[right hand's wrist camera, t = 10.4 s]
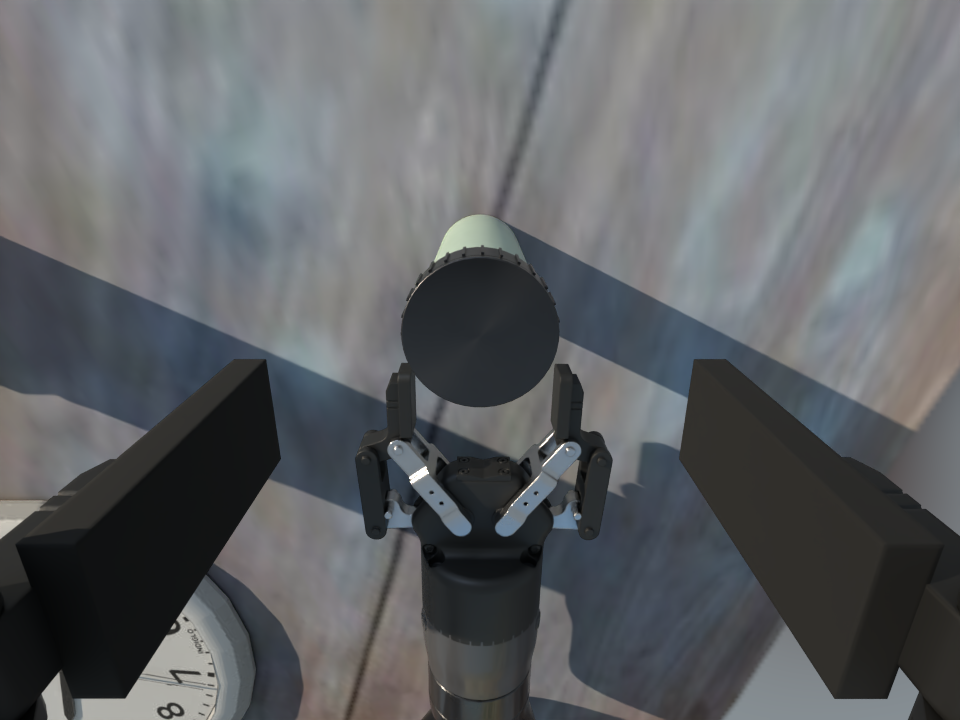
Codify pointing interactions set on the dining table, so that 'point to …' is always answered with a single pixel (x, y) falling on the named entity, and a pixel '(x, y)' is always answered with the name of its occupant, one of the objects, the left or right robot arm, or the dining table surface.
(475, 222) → the jar
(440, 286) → the lid
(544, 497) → the left robot arm
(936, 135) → the dining table surface
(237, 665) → the wall clock
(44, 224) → the dining table surface
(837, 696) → the right robot arm
